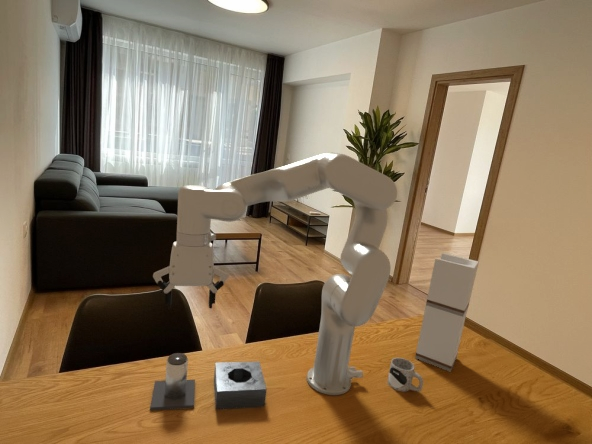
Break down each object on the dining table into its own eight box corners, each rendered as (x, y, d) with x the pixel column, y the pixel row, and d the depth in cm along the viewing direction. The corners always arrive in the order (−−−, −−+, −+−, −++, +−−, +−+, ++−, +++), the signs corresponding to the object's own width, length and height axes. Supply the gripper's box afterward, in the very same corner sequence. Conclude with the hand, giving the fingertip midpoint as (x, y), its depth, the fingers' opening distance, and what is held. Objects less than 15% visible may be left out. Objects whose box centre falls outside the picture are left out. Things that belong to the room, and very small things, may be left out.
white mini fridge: (456, 358, 130) (478, 261, 123) (450, 372, 121) (474, 268, 114) (422, 346, 136) (442, 252, 129) (414, 358, 127) (435, 258, 120)
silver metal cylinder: (186, 386, 98) (188, 352, 96) (185, 398, 93) (187, 363, 91) (165, 386, 96) (167, 352, 95) (163, 399, 92) (165, 364, 90)
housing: (257, 377, 106) (259, 361, 105) (264, 406, 95) (266, 389, 94) (213, 379, 103) (215, 362, 102) (215, 409, 92) (217, 391, 91)
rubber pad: (194, 382, 101) (195, 379, 101) (194, 408, 91) (194, 405, 91) (154, 383, 98) (155, 381, 98) (149, 410, 89) (150, 407, 89)
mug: (383, 383, 111) (387, 362, 110) (394, 374, 116) (398, 355, 115) (415, 401, 105) (419, 379, 103) (425, 391, 110) (429, 371, 108)
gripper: (229, 235, 95) (224, 299, 98) (155, 233, 90) (153, 300, 94) (232, 244, 88) (227, 312, 91) (152, 241, 83) (150, 314, 87)
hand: (190, 306), depth 93 cm, fingers open, 9 cm apart
